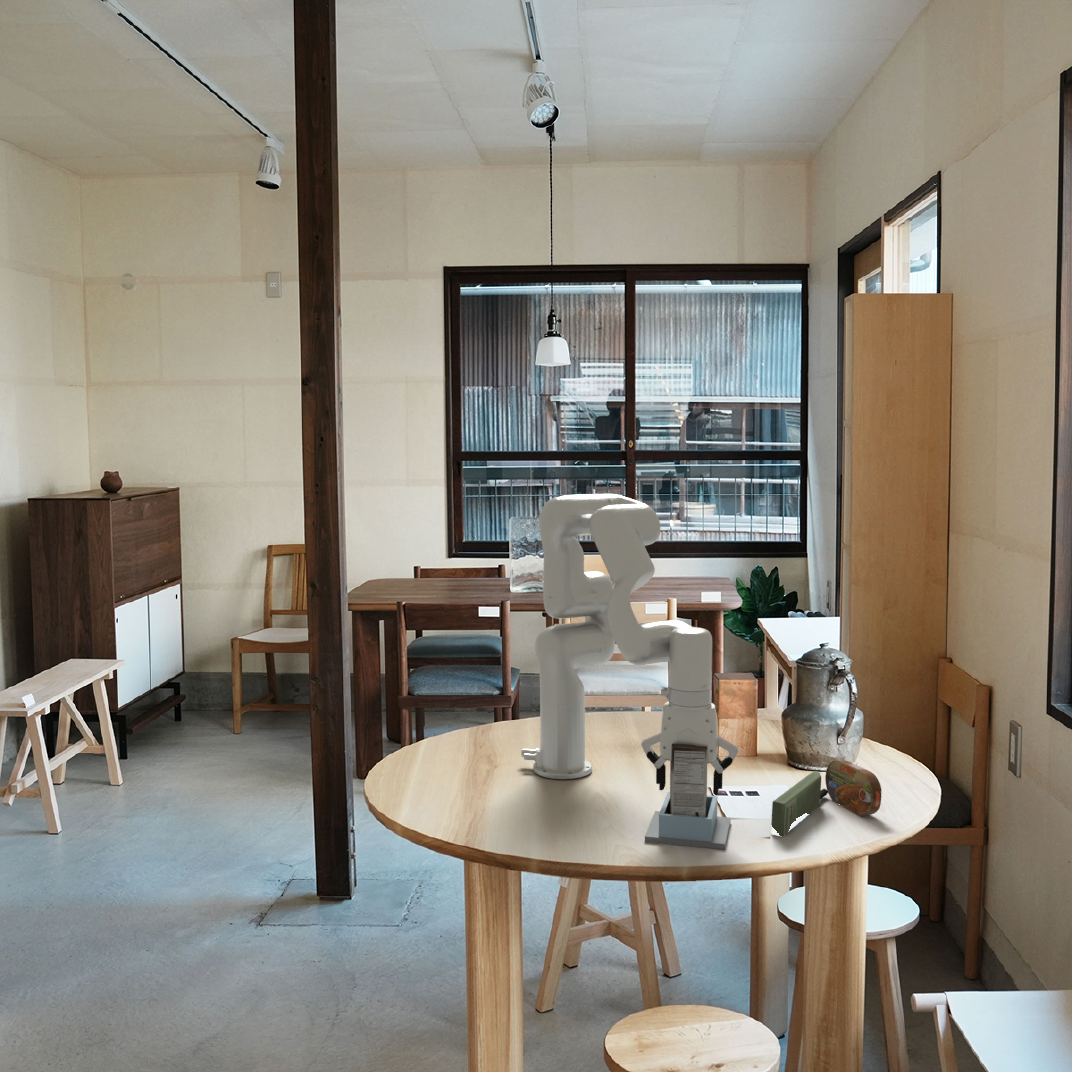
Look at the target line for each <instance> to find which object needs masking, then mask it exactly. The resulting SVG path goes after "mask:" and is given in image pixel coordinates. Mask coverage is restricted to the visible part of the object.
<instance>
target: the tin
mask: <svg viewBox="0 0 1072 1072" xmlns="http://www.w3.org/2000/svg"><path fill="white" fill-rule="evenodd" d="M825 771H826V772H825V775H824V776H825V779H824V780H825V786H826V790H827V791H828V794H827V795H828V796H829V797H830V799H831V800H832V801H833V802H834V804H836V805H839V804H840V805H839V806H841V807H842V808H844V809H846V810H847V811H848V810H849V811H850V812H852V813H853V814H855V815H857V816H866V815H867V816H870V815H871V816H872V815H873V814H876V813H877V812H878V811H879V809H880V807H881V802H882V786H881V783H880V781H879V779H878V777H877V776H876V775H875V774H874V773H873V771H870V770H868V769H866V768H864V767H861V766H858V765H857V764H856V763H853V762H851V761H849V760H837V759H835V760H832V761H831V762H829V764H828V765H827V767H826V770H825Z"/></svg>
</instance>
